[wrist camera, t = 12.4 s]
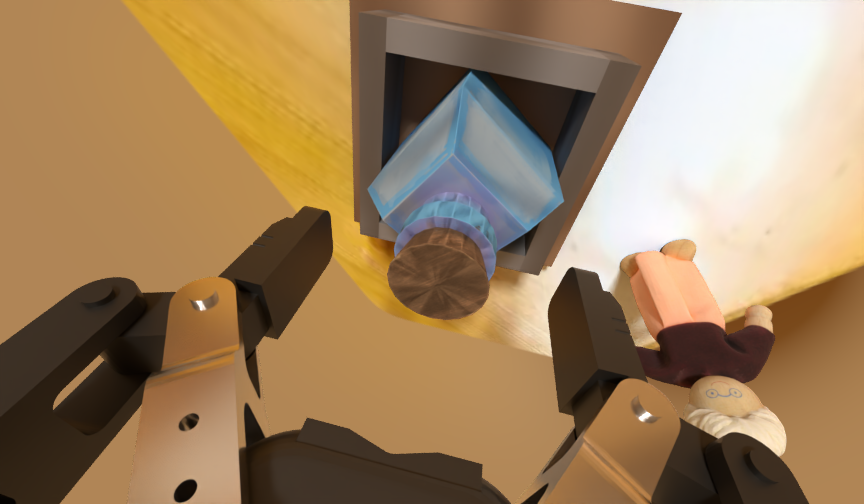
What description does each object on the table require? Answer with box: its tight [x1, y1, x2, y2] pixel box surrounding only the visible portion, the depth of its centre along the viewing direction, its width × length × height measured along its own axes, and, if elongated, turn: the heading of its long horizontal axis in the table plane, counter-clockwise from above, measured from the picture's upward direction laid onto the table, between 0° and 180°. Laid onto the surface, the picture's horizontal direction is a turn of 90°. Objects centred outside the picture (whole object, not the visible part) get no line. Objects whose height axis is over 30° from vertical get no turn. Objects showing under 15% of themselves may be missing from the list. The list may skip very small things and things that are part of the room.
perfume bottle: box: [367, 68, 564, 320], centre depth 14 cm, size 6×6×12 cm
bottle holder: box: [350, 0, 682, 275], centre depth 18 cm, size 15×15×4 cm
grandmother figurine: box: [621, 239, 786, 457], centre depth 18 cm, size 8×4×13 cm, turn 133°
